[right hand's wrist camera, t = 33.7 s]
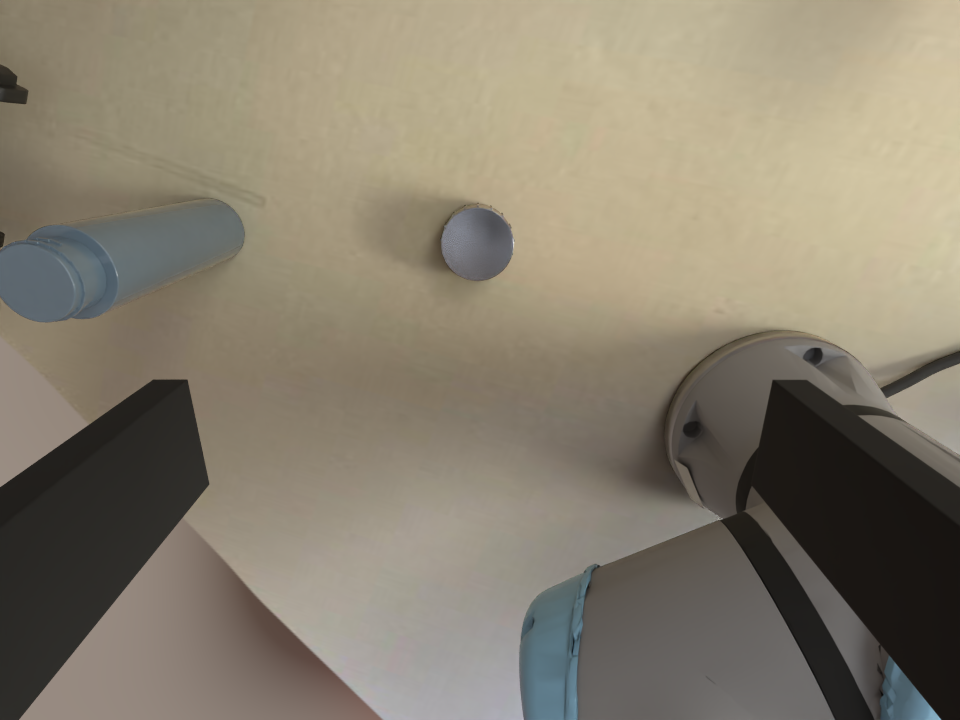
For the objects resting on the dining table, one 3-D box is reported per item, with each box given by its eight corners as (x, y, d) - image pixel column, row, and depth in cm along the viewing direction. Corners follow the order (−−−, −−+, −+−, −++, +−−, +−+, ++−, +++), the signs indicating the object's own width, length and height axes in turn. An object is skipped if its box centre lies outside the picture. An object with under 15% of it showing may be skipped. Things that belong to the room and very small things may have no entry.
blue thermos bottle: (243, 202, 36) (79, 238, 21) (245, 264, 38) (93, 339, 23) (179, 194, 36) (-32, 225, 21) (184, 257, 38) (-10, 327, 23)
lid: (457, 191, 36) (456, 193, 34) (524, 219, 37) (527, 223, 35) (432, 258, 38) (429, 265, 36) (496, 284, 38) (497, 292, 36)
